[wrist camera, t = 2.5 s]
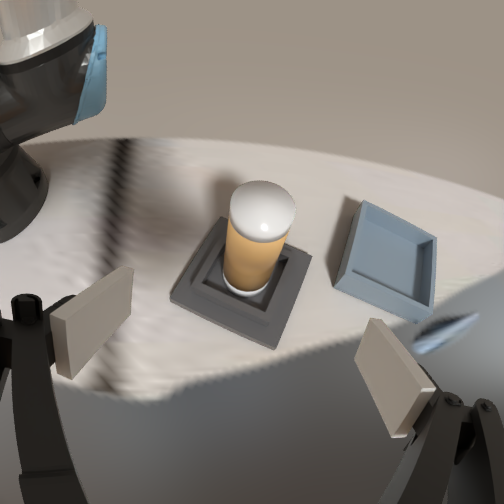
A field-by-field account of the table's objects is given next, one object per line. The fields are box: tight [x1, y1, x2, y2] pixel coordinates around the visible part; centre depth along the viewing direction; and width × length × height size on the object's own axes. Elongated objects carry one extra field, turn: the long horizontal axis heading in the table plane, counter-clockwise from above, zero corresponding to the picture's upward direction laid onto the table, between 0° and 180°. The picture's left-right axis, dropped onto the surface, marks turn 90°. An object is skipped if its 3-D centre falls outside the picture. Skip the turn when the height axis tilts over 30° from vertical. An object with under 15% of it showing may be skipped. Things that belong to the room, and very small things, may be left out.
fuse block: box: [170, 217, 312, 350], centre depth 32 cm, size 12×12×2 cm
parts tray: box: [334, 200, 437, 324], centre depth 36 cm, size 12×12×4 cm
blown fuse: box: [222, 181, 296, 298], centre depth 28 cm, size 5×5×12 cm
